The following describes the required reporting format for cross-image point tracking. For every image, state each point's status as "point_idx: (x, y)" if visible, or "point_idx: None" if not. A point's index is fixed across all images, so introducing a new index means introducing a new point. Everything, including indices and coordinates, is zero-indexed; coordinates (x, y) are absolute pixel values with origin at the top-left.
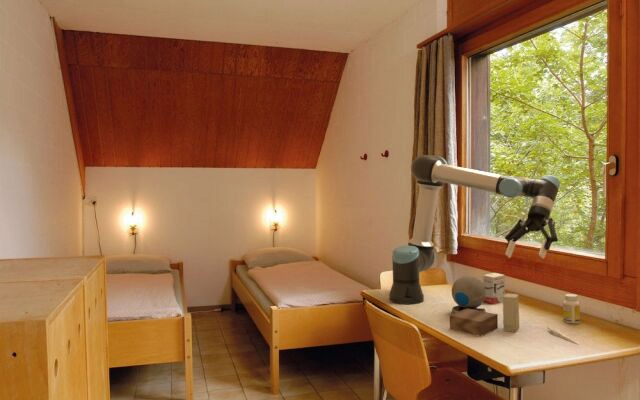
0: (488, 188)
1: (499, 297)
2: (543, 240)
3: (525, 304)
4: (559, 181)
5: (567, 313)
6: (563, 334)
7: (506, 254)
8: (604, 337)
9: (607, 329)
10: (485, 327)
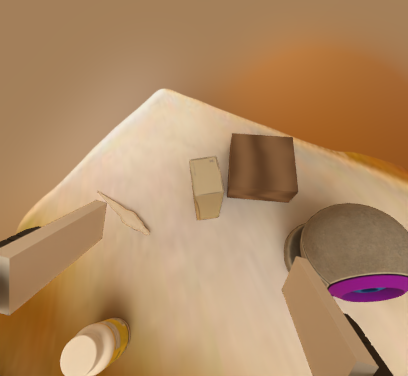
0: None
1: None
2: (17, 252)
3: None
4: None
5: (112, 320)
6: (119, 209)
7: (299, 260)
8: None
9: (42, 317)
10: (230, 153)
